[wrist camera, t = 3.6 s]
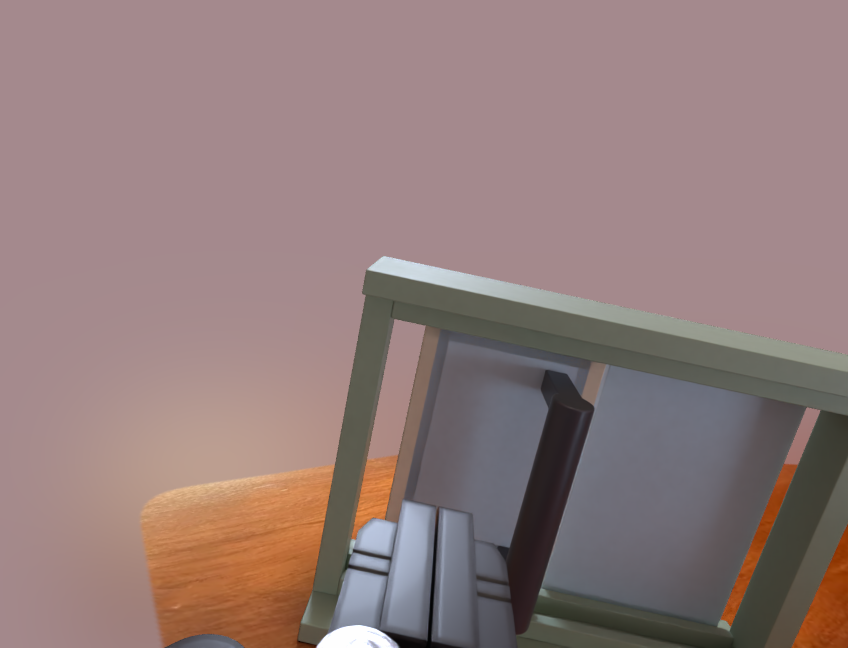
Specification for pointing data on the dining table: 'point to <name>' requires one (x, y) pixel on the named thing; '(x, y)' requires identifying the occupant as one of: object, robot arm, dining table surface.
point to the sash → (497, 446)
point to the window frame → (635, 465)
